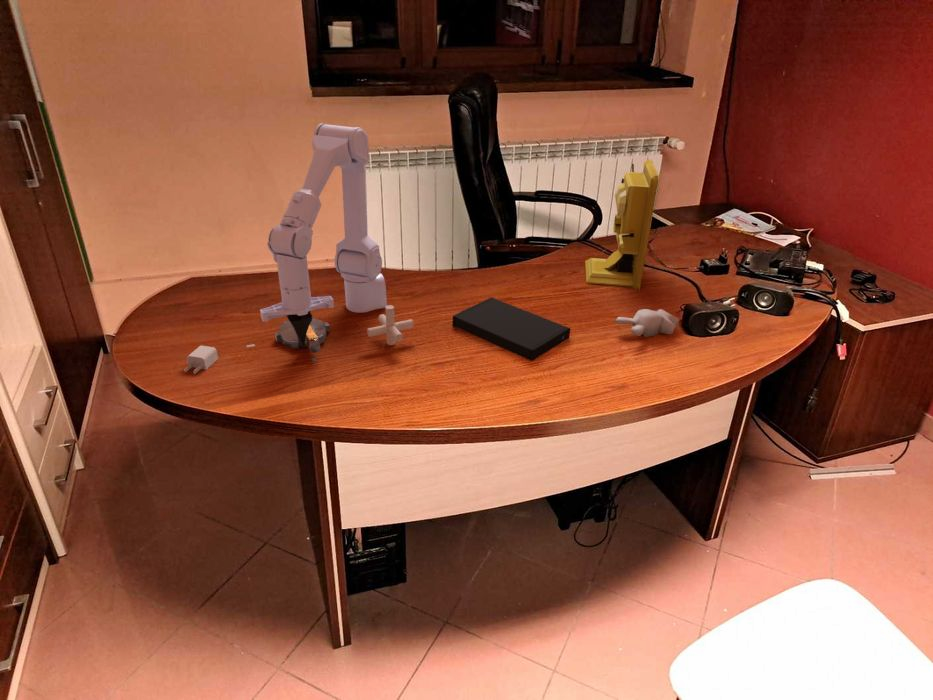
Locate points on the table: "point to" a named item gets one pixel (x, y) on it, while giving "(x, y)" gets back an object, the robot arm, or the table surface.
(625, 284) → the vintage telephone
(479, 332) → the external hard drive
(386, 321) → the pipe connector
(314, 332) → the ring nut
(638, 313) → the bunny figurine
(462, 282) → the table surface
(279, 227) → the robot arm
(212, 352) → the usb wall charger
